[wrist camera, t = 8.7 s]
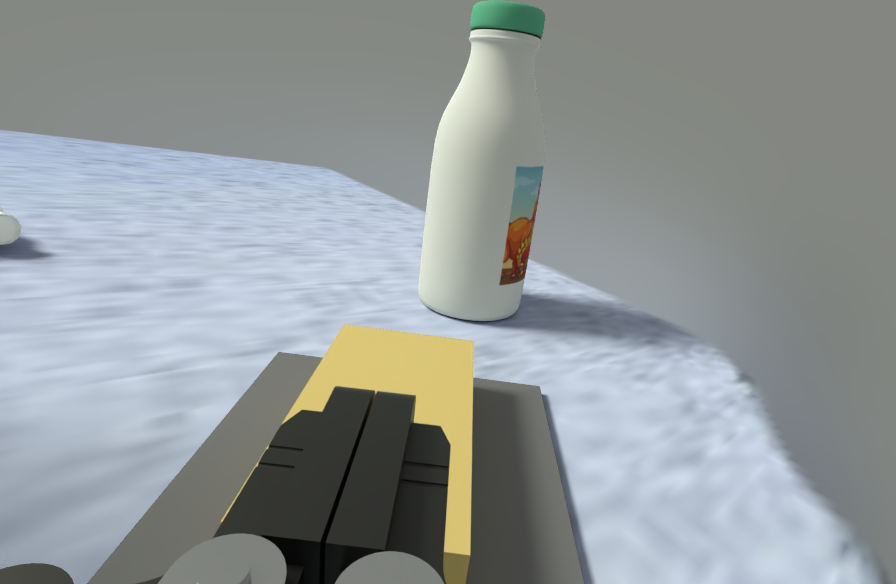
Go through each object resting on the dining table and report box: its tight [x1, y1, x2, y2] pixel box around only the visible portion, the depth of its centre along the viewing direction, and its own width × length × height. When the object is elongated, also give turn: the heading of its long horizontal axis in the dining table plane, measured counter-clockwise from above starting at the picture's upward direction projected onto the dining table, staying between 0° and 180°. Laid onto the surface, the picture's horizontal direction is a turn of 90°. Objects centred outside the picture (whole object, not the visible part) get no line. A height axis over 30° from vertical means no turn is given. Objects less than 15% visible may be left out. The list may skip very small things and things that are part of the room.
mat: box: [87, 352, 584, 584], centre depth 18 cm, size 20×14×1 cm
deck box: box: [221, 324, 474, 584], centre depth 20 cm, size 2×6×13 cm
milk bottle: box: [418, 1, 545, 321], centre depth 35 cm, size 8×8×20 cm
